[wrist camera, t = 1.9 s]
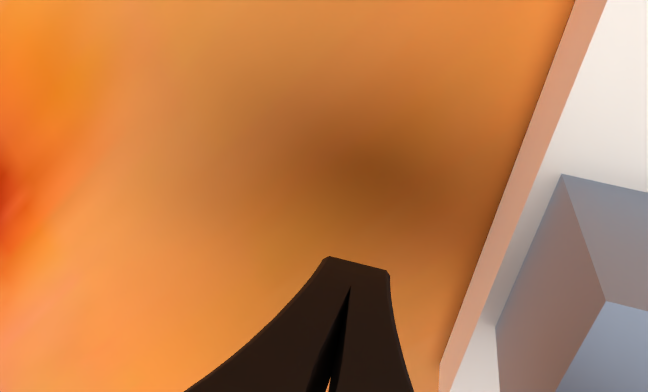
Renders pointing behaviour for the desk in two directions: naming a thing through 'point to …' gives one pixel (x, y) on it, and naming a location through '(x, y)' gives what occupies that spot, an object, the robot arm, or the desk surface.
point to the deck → (559, 166)
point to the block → (580, 296)
